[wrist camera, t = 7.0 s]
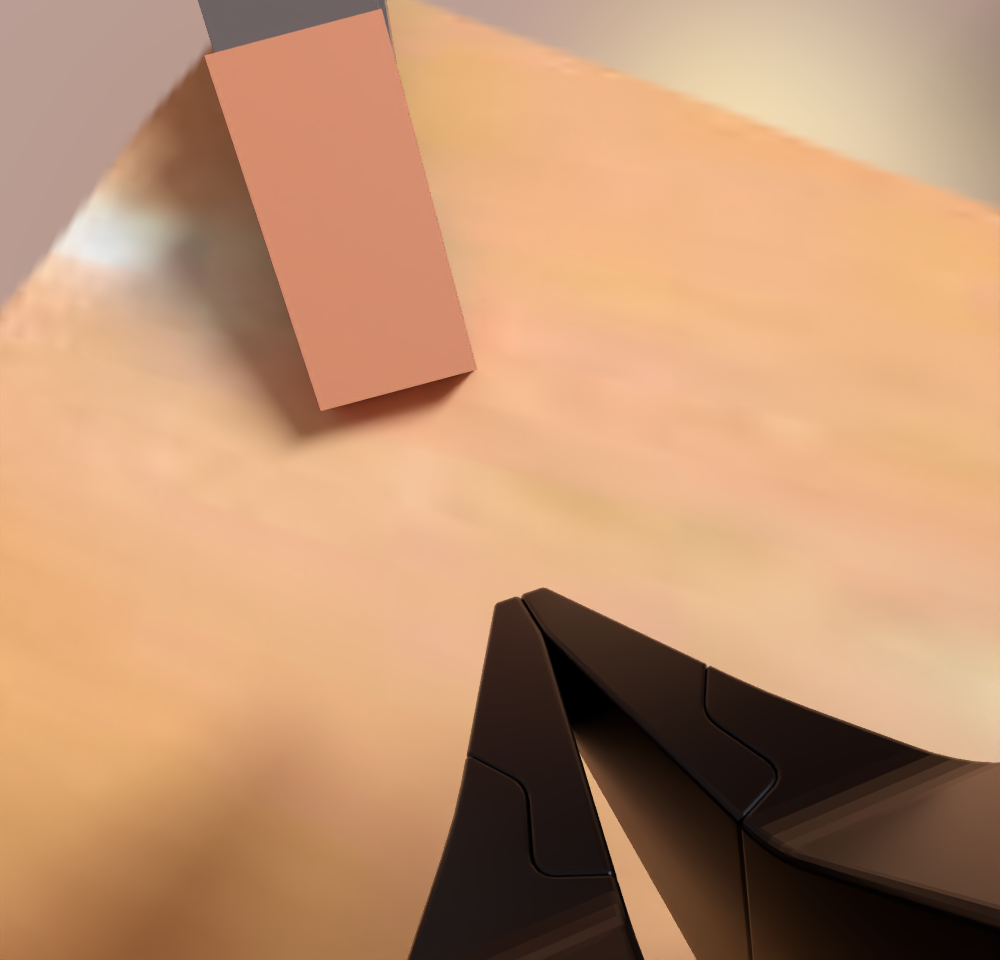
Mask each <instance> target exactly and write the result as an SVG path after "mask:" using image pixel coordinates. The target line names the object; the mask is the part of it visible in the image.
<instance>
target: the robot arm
mask: <svg viewBox="0 0 1000 960" xmlns="http://www.w3.org/2000/svg"><path fill="white" fill-rule="evenodd" d="M579 752H580V753H579ZM580 754H581V756H582V758H583V759H584V761H585V763H586V765H587V766H588V768H589V770H590V772H591V773H592V775H593V777H594V779H595V780H596V782H597V784H598V786H599V788H600V789H601V791H602V793H603V795H604V796H605V798H606V800H607V802H608V803H609V805H610V807H611V809H612V811H613V812H614V814H615V816H616V818H617V819H618V821H619V823H620V825H621V826H622V828H623V830H624V832H625V834H626V835H627V837H628V839H629V841H630V842H631V844H632V846H633V848H634V849H635V851H636V853H637V855H638V857H639V858H640V860H641V862H642V864H643V865H644V867H645V869H646V871H647V872H648V874H649V876H650V878H651V880H652V881H653V883H654V885H655V887H656V888H657V890H658V892H659V894H660V895H661V897H662V899H663V901H664V902H665V904H666V906H667V908H668V910H669V911H670V913H671V915H672V917H673V918H674V920H675V922H676V924H677V925H678V927H679V929H680V931H681V933H682V934H683V936H684V938H685V940H686V941H687V943H688V945H689V947H690V948H691V950H692V952H693V954H694V956H695V957H696V959H697V960H1000V763H991V762H976V761H968V760H962V759H956V758H952V757H948V756H944V755H940V754H936V753H933V752H930V751H927V750H923V749H920V748H917V747H914V746H912V745H909V744H906V743H903V742H901V741H898V740H895V739H892V738H890V737H887V736H884V735H881V734H879V733H876V732H873V731H871V730H868V729H865V728H862V727H860V726H857V725H854V724H851V723H849V722H846V721H843V720H840V719H838V718H835V717H832V716H829V715H827V714H824V713H821V712H819V711H816V710H813V709H810V708H808V707H805V706H803V705H800V704H797V703H795V702H792V701H790V700H787V699H785V698H782V697H779V696H777V695H774V694H772V693H769V692H767V691H765V690H762V689H760V688H758V687H756V686H753V685H751V684H749V683H747V682H744V681H742V680H740V679H737V678H735V677H733V676H731V675H729V674H727V673H725V672H722V671H720V670H718V669H716V668H714V667H712V666H709V667H708V668H707V665H706V664H705V663H703V662H701V661H699V660H697V659H695V658H692V657H690V656H688V655H686V654H684V653H682V652H680V651H678V650H676V649H674V648H671V647H669V646H667V645H665V644H663V643H661V642H659V641H657V640H655V639H652V638H650V637H648V636H646V635H644V634H642V633H640V632H638V631H636V630H634V629H631V628H629V627H627V626H625V625H623V624H621V623H619V622H617V621H615V620H612V619H610V618H608V617H606V616H604V615H602V614H600V613H598V612H596V611H594V610H591V609H589V608H587V607H585V606H583V605H581V604H579V603H577V602H575V601H572V600H570V599H568V598H566V597H564V596H562V595H560V594H558V593H556V592H554V591H551V590H549V589H547V588H539V589H536V590H534V591H531V592H528V593H525V594H523V595H522V596H521V598H519V597H513V598H510V599H507V600H504V601H501V602H499V603H497V604H496V605H495V607H494V611H493V617H492V622H491V628H490V633H489V638H488V644H487V649H486V654H485V660H484V665H483V670H482V676H481V681H480V687H479V692H478V697H477V703H476V708H475V713H474V719H473V724H472V729H471V735H470V740H469V746H468V751H467V759H466V760H465V765H464V771H463V776H462V782H461V786H460V790H459V795H458V799H457V804H456V808H455V812H454V817H453V820H452V824H451V827H450V830H449V834H448V837H447V840H446V844H445V847H444V850H443V854H442V857H441V860H440V863H439V866H438V869H437V872H436V875H435V878H434V881H433V884H432V887H431V890H430V893H429V896H428V899H427V902H426V905H425V908H424V911H423V914H422V917H421V920H420V923H419V926H418V929H417V932H416V935H415V938H414V941H413V944H412V947H411V950H410V953H409V956H408V959H407V960H644V957H643V955H642V952H641V949H640V947H639V944H638V941H637V939H636V936H635V933H634V930H633V927H632V924H631V921H630V918H629V915H628V912H627V909H626V906H625V902H624V899H623V896H622V893H621V889H620V886H619V883H618V881H617V877H616V873H615V869H614V866H613V863H612V859H611V856H610V853H609V850H608V846H607V843H606V840H605V836H604V833H603V830H602V826H601V823H600V820H599V816H598V813H597V810H596V806H595V803H594V800H593V796H592V793H591V790H590V786H589V783H588V780H587V777H586V773H585V770H584V767H583V763H582V760H581V757H580Z"/></svg>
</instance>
